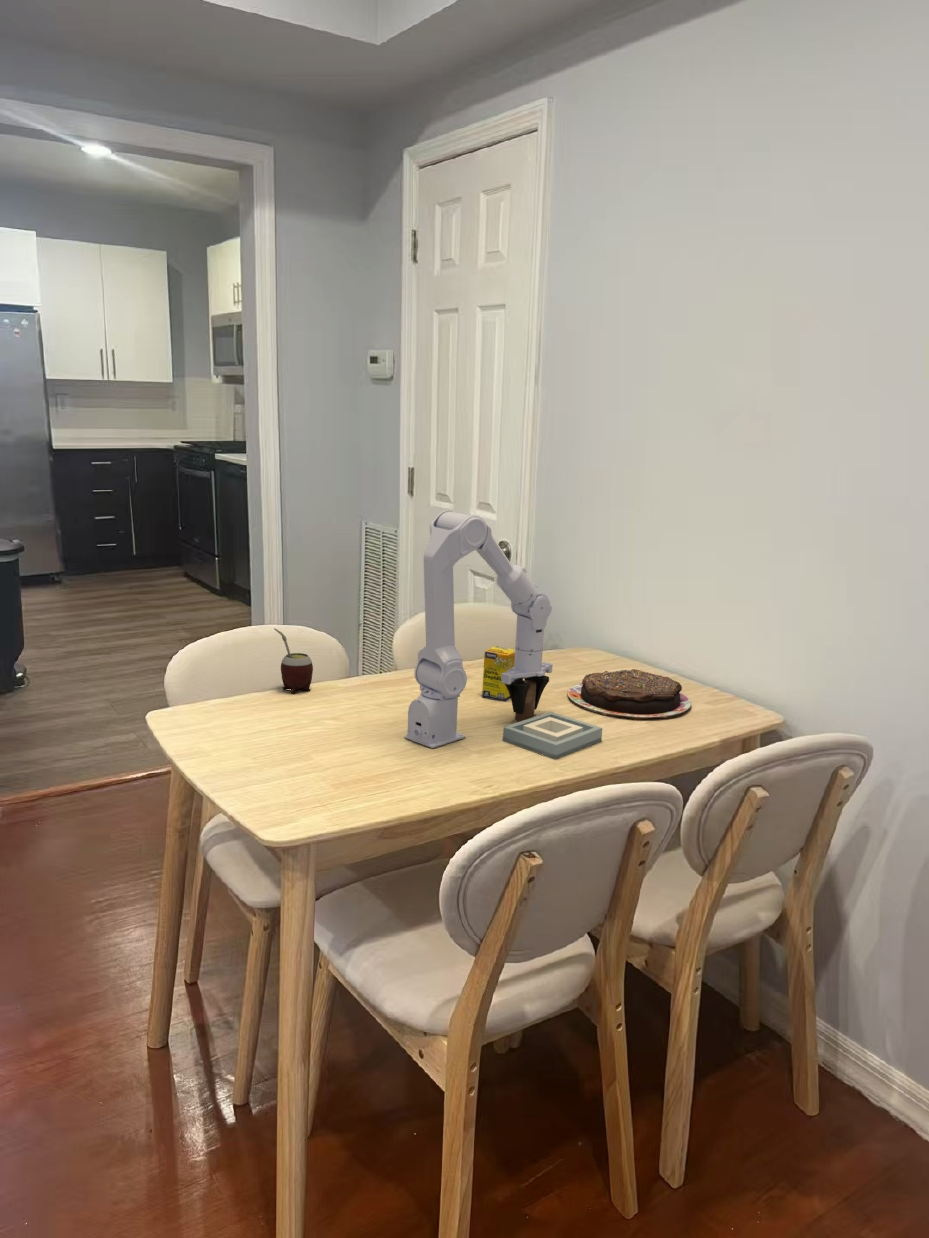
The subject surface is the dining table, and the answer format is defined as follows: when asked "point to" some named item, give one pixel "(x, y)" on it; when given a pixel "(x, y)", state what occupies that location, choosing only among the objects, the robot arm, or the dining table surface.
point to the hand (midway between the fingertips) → (525, 710)
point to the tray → (548, 747)
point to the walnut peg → (528, 703)
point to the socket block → (552, 729)
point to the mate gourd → (296, 670)
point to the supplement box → (496, 672)
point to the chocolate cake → (630, 695)
